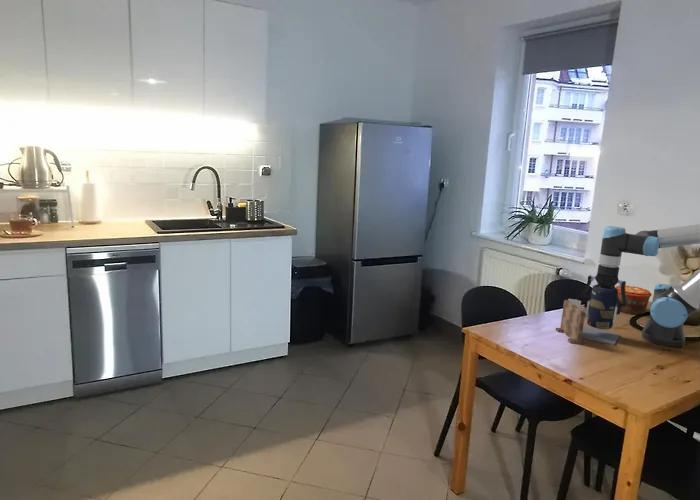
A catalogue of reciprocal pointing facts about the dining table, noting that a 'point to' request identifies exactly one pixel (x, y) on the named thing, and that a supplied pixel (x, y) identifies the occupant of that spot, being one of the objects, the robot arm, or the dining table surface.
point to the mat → (599, 335)
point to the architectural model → (576, 303)
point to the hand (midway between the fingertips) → (600, 318)
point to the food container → (634, 300)
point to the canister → (602, 307)
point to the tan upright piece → (572, 322)
